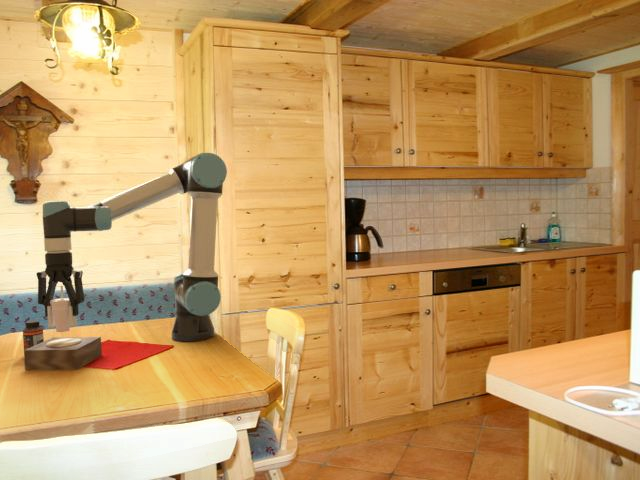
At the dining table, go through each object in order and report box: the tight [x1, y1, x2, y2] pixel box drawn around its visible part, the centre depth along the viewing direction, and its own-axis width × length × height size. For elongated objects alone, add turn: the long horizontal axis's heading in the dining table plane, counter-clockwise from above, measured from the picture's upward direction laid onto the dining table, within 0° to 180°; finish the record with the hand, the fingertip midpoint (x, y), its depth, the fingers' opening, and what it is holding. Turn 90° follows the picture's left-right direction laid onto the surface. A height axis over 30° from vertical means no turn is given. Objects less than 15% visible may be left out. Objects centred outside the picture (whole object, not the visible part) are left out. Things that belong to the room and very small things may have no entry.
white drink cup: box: [50, 285, 71, 333], centre depth 176 cm, size 6×6×14 cm
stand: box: [23, 336, 103, 371], centre depth 176 cm, size 16×16×6 cm
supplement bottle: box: [22, 319, 45, 351], centre depth 186 cm, size 6×6×11 cm
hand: (62, 326), depth 176 cm, fingers closed on white drink cup, 6 cm apart
